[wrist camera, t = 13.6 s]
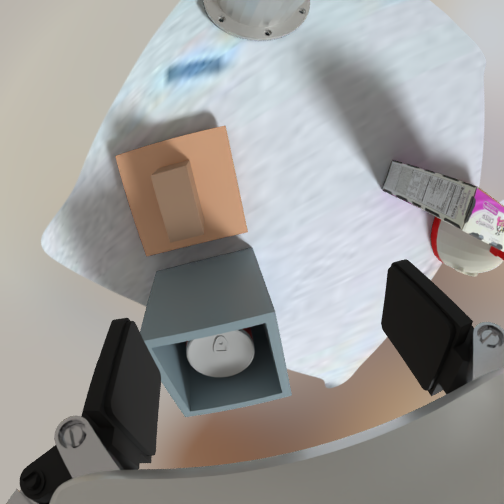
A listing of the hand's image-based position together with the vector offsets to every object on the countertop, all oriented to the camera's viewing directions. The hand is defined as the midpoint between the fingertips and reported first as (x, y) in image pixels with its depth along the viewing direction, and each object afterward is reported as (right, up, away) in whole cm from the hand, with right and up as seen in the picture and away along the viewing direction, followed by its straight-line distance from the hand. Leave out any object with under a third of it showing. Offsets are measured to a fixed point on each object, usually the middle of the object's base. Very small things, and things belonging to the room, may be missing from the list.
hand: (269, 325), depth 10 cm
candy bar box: (+23, +12, +28) cm, 38 cm away
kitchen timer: (+35, +7, +32) cm, 48 cm away
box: (-6, -4, +31) cm, 31 cm away
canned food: (-6, -4, +31) cm, 32 cm away
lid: (-9, +10, +24) cm, 27 cm away
